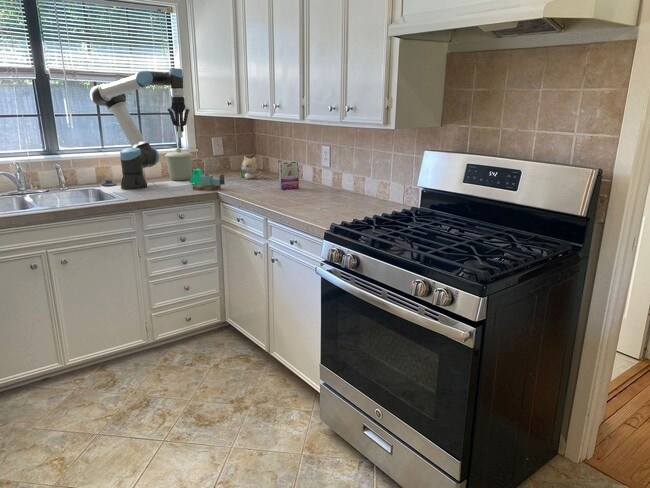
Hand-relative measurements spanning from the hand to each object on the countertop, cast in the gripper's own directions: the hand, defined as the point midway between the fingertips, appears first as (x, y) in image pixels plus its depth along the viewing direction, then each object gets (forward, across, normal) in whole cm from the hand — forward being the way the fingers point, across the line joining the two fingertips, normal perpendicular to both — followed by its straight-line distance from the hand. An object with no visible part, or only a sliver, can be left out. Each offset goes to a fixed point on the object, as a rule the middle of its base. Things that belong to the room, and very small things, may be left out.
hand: (180, 137), depth 290 cm
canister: (+30, -11, +24) cm, 40 cm away
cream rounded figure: (+30, +33, +33) cm, 55 cm away
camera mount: (+30, +8, +9) cm, 32 cm away
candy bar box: (+29, +66, +1) cm, 72 cm away
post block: (+30, +17, -6) cm, 34 cm away
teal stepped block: (+27, +21, -6) cm, 34 cm away
